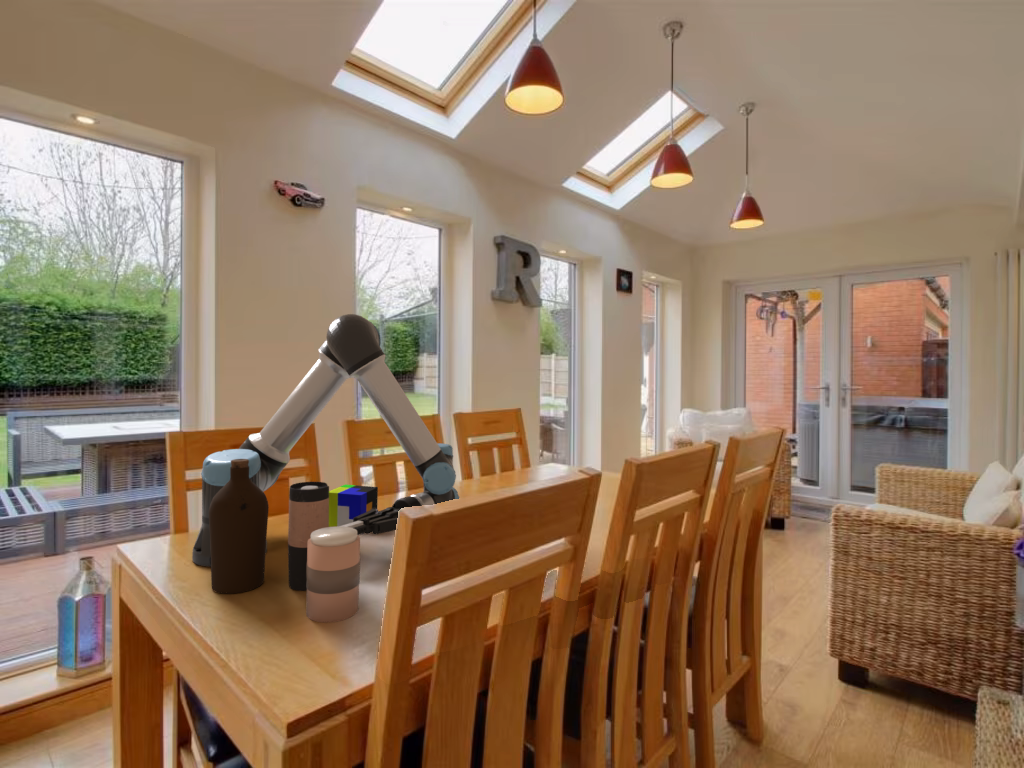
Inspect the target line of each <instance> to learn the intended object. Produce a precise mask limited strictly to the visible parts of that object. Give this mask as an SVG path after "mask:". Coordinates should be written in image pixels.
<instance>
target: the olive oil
mask: <svg viewBox="0 0 1024 768" xmlns="http://www.w3.org/2000/svg"><path fill="white" fill-rule="evenodd" d="M248 463H249V460H248V459H234V460H231V467H230V480H229V481H228V482H227V483H226V484H225V486H224V487H223V488H222V489H221V490H220V491H219V492H218V493H217V494H216V495H215V496H214V497H213V499H212V501H211V504H210V507H209V529H210V550H211V557H210V565H211V567H210V572H211V573H210V577H211V579H210V581H211V589H212V591H213V592H215V593H218V594H230V595H231V594H233V595H234V594H240V593H246V592H249V591H252V590H255V589H257V588H259V587H260V586H261V585H262V584H263V583H264V582H265V571H266V570H265V568H266V554H265V552H266V540H267V535H268V534H267V533H268V521H269V507H270V506H269V501H268V498H267V496H266V494H265V491H264V492H263V491H262V490H261V489H260V488H259V487H258V486H257V485H255V484H254V483H253V482H252V481H251V480H250V478H249V466H248ZM266 553H267V552H266Z"/></svg>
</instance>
